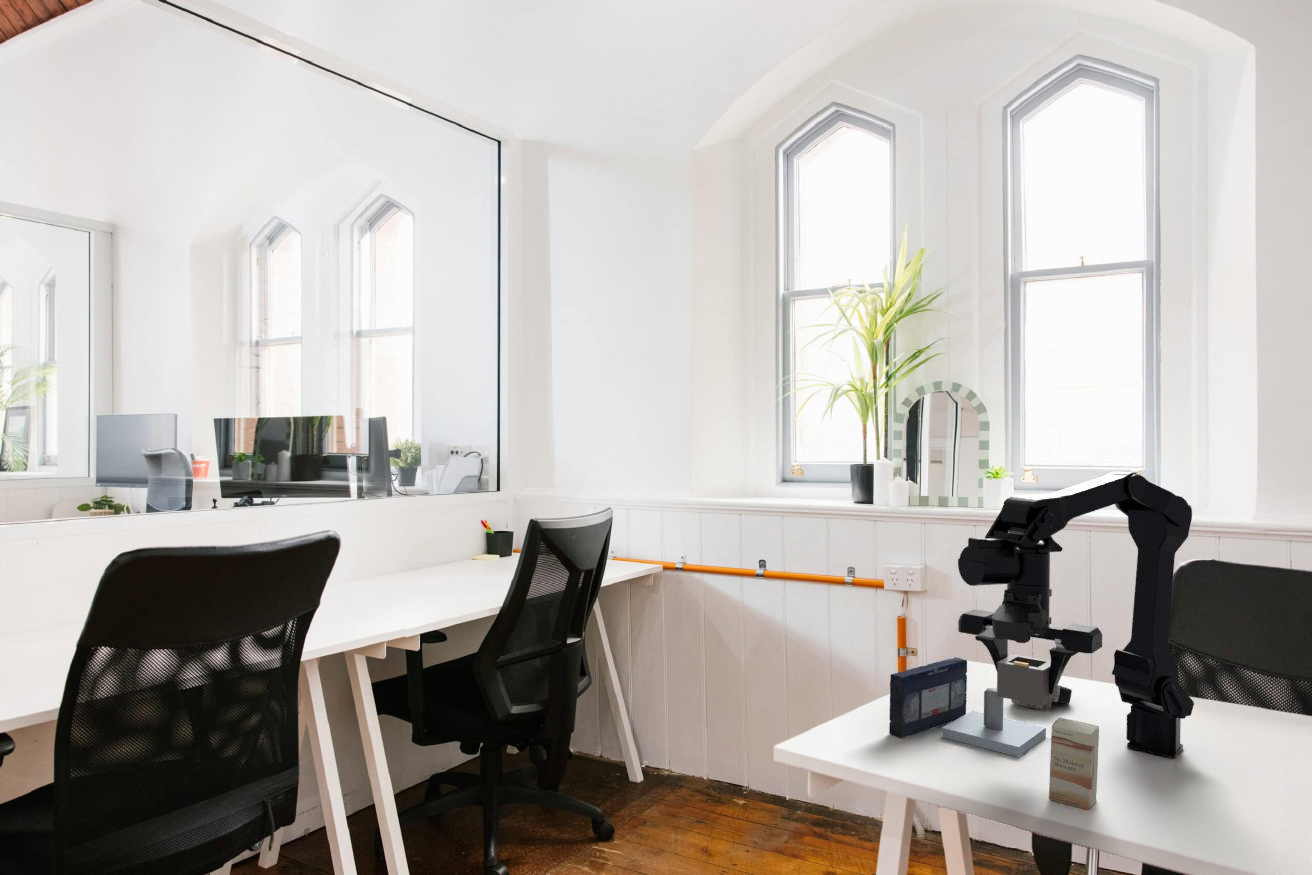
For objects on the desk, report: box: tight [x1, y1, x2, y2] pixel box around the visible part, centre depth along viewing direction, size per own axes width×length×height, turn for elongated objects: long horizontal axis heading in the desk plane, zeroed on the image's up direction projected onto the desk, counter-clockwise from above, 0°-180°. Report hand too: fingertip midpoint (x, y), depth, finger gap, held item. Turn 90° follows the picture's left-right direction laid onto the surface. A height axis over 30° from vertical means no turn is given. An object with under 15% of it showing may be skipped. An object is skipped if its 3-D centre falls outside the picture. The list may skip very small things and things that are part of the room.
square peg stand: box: [941, 687, 1047, 758], centre depth 135 cm, size 12×12×8 cm
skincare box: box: [1048, 717, 1100, 811], centre depth 112 cm, size 5×4×10 cm
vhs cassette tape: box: [888, 657, 968, 739], centre depth 140 cm, size 18×3×10 cm, turn 126°
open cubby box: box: [996, 653, 1057, 706], centre depth 123 cm, size 6×6×5 cm
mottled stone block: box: [1010, 684, 1073, 712], centre depth 153 cm, size 7×11×10 cm
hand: (1027, 688), depth 123 cm, fingers closed on open cubby box, 6 cm apart
